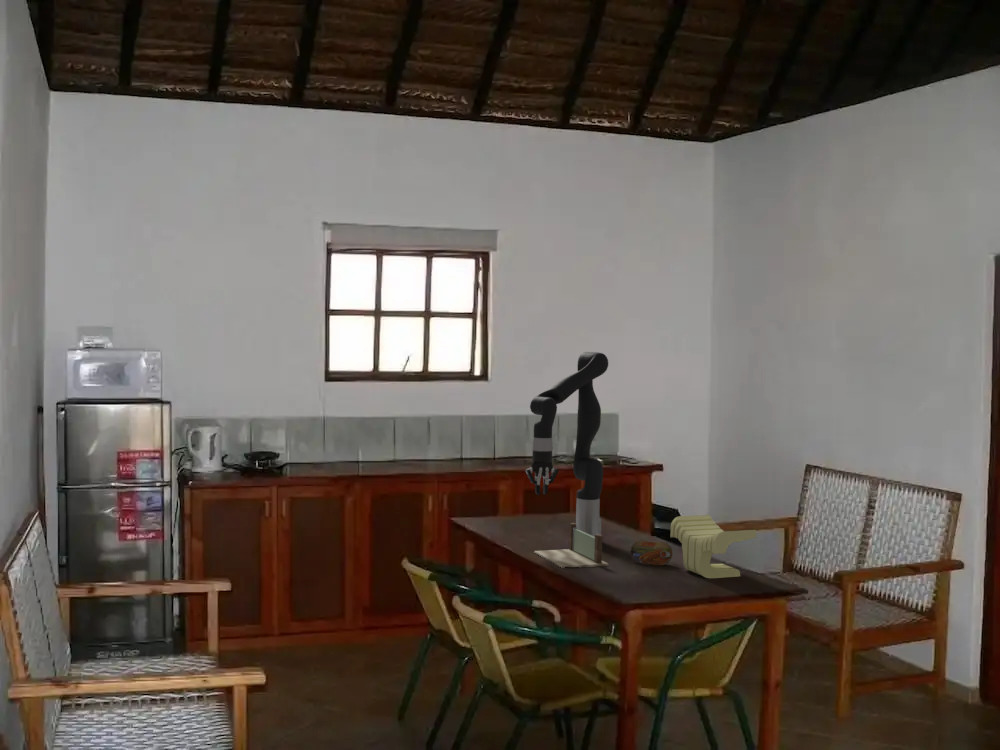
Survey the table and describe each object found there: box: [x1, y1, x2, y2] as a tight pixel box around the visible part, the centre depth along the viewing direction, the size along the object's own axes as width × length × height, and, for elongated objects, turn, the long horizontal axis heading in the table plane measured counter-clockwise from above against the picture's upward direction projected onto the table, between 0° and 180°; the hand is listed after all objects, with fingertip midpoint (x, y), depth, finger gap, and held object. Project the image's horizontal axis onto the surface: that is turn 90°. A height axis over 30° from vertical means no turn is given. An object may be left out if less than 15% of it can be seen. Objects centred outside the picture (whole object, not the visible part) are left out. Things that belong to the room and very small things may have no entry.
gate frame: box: [533, 522, 609, 569], centre depth 401 cm, size 18×27×11 cm, turn 19°
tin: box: [630, 540, 673, 566], centre depth 397 cm, size 15×3×8 cm, turn 70°
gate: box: [573, 527, 595, 560], centre depth 404 cm, size 2×21×8 cm, turn 19°
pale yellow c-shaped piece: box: [670, 514, 757, 579], centre depth 383 cm, size 30×16×18 cm, turn 20°
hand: (541, 494), depth 418 cm, fingers closed
